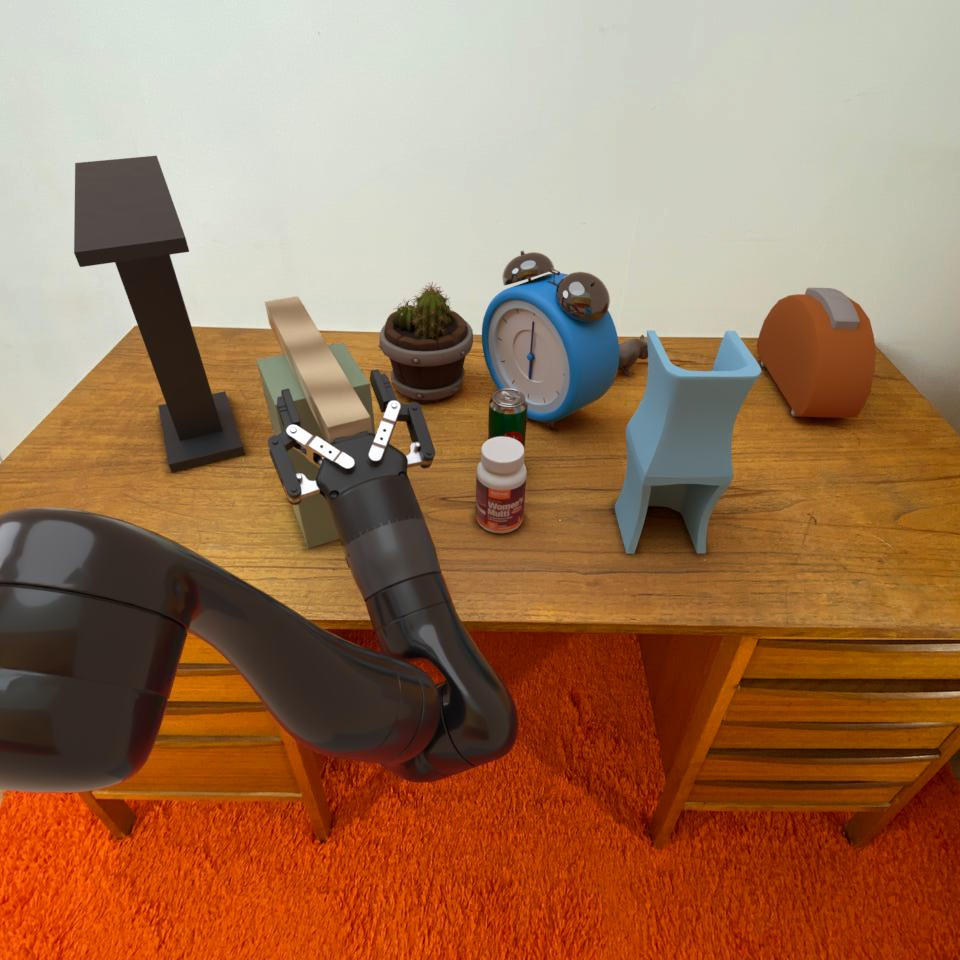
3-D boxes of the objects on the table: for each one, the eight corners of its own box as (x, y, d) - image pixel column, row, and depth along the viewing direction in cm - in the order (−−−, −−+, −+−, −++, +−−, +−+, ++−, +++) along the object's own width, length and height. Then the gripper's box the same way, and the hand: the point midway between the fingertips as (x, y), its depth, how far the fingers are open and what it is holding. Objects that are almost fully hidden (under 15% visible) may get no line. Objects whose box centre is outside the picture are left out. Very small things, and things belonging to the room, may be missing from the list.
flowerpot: (377, 371, 110) (365, 257, 97) (463, 361, 113) (463, 249, 100) (389, 418, 99) (377, 297, 86) (484, 406, 102) (486, 286, 89)
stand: (257, 492, 86) (185, 237, 64) (178, 513, 82) (73, 252, 60) (219, 372, 109) (156, 155, 87) (156, 385, 106) (74, 162, 84)
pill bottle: (487, 540, 79) (489, 470, 72) (468, 509, 84) (468, 440, 76) (531, 527, 81) (537, 458, 74) (511, 497, 86) (515, 429, 78)
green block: (386, 524, 81) (370, 383, 68) (308, 548, 78) (274, 404, 64) (362, 478, 88) (343, 341, 75) (289, 499, 85) (255, 359, 71)
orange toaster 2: (854, 431, 98) (902, 332, 88) (796, 429, 99) (837, 330, 88) (799, 355, 116) (834, 265, 106) (750, 354, 116) (779, 264, 106)
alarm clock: (478, 391, 106) (480, 250, 91) (520, 371, 111) (529, 235, 95) (568, 448, 94) (588, 298, 79) (611, 424, 99) (637, 278, 84)
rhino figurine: (660, 365, 113) (667, 334, 109) (601, 387, 107) (606, 356, 103) (643, 356, 115) (649, 325, 112) (585, 377, 110) (589, 345, 106)
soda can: (496, 453, 93) (499, 383, 85) (528, 463, 91) (534, 392, 83) (481, 473, 89) (482, 401, 82) (514, 484, 88) (518, 412, 80)
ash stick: (373, 443, 60) (370, 416, 58) (331, 454, 58) (327, 427, 56) (302, 318, 79) (298, 295, 77) (269, 324, 78) (264, 301, 76)
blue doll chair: (684, 499, 86) (735, 329, 70) (706, 553, 78) (768, 377, 62) (611, 500, 86) (646, 329, 69) (626, 554, 78) (668, 376, 62)
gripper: (469, 502, 55) (405, 346, 59) (305, 553, 50) (249, 379, 55) (452, 528, 62) (396, 386, 66) (306, 575, 57) (256, 418, 61)
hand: (330, 383), depth 60 cm, fingers open, 8 cm apart
